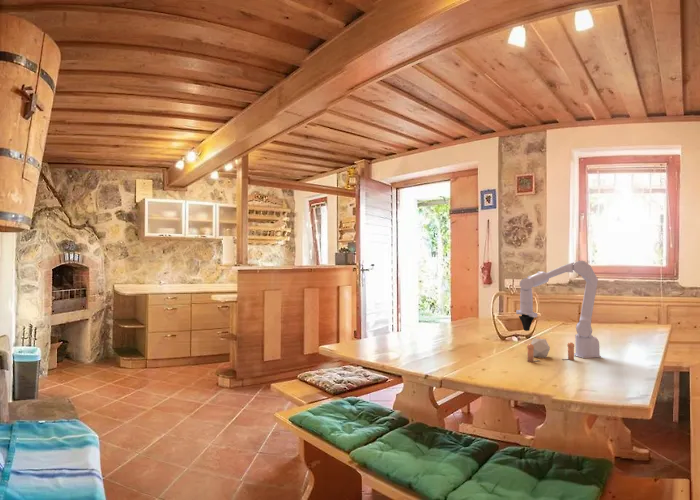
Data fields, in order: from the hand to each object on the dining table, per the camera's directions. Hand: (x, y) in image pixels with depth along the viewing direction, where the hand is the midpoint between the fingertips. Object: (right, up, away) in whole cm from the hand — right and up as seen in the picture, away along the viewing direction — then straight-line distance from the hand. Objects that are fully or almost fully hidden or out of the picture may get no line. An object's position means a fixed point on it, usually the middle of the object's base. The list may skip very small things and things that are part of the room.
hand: (526, 330), depth 207 cm
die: (+1, -10, -13) cm, 16 cm away
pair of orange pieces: (+2, -9, -20) cm, 23 cm away
